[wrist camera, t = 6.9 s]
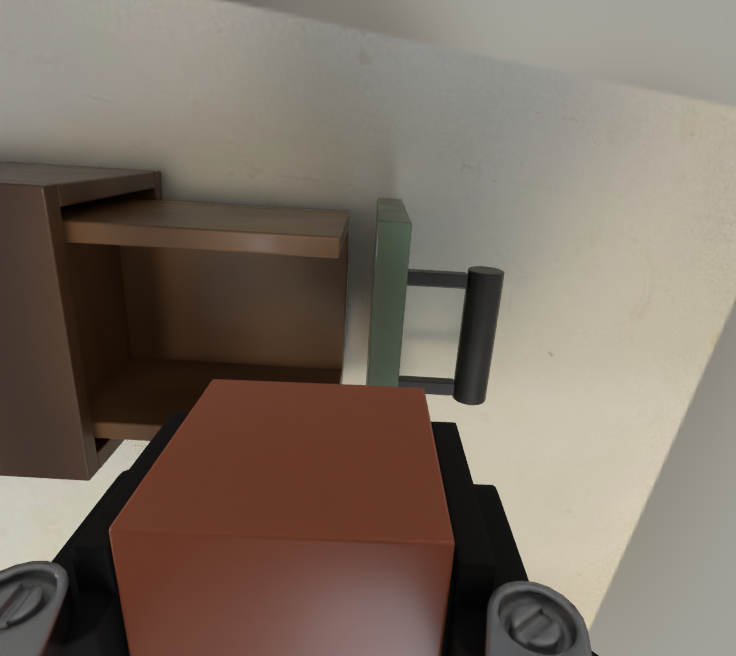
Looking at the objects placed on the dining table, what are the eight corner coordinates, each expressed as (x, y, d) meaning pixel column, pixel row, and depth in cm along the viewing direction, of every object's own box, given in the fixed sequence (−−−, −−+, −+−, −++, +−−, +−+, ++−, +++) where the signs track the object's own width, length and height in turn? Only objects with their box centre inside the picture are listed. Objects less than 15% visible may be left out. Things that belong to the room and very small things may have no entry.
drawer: (487, 204, 25) (533, 229, 18) (462, 392, 29) (491, 478, 21) (107, 181, 25) (-5, 197, 18) (129, 373, 28) (44, 452, 21)
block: (212, 378, 10) (106, 528, 6) (424, 386, 10) (455, 543, 6) (224, 546, 12) (144, 757, 8) (410, 553, 12) (428, 769, 8)
